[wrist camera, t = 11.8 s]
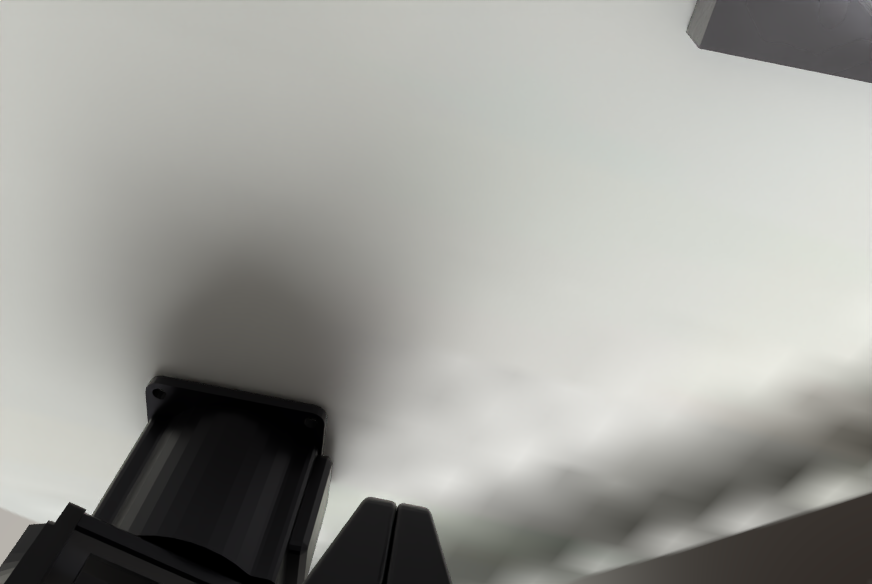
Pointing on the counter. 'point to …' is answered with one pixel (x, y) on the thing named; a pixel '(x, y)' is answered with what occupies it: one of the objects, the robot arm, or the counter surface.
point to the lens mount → (790, 33)
